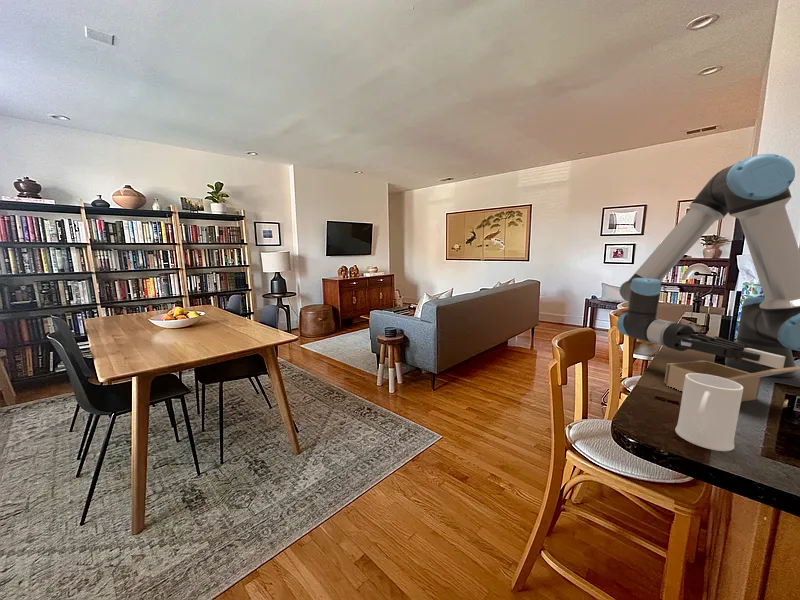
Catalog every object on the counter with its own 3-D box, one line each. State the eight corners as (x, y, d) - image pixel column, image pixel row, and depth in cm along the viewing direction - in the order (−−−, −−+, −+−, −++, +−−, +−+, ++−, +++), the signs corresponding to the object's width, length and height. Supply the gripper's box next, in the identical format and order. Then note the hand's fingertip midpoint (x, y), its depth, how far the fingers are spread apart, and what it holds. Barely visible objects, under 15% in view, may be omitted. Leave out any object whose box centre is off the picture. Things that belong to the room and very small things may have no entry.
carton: (701, 379, 94) (705, 359, 93) (758, 399, 82) (763, 376, 81) (660, 384, 90) (663, 363, 89) (714, 405, 78) (718, 381, 77)
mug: (720, 463, 56) (731, 398, 54) (661, 438, 63) (669, 380, 62) (740, 443, 62) (751, 384, 61) (684, 422, 70) (692, 369, 68)
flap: (760, 375, 80) (811, 365, 72) (761, 377, 80) (812, 367, 72) (722, 379, 77) (770, 369, 69) (723, 381, 77) (772, 372, 69)
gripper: (686, 346, 96) (798, 376, 74) (651, 348, 93) (757, 381, 71) (690, 321, 95) (805, 344, 72) (655, 323, 92) (764, 347, 69)
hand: (781, 362), depth 72 cm, fingers closed
